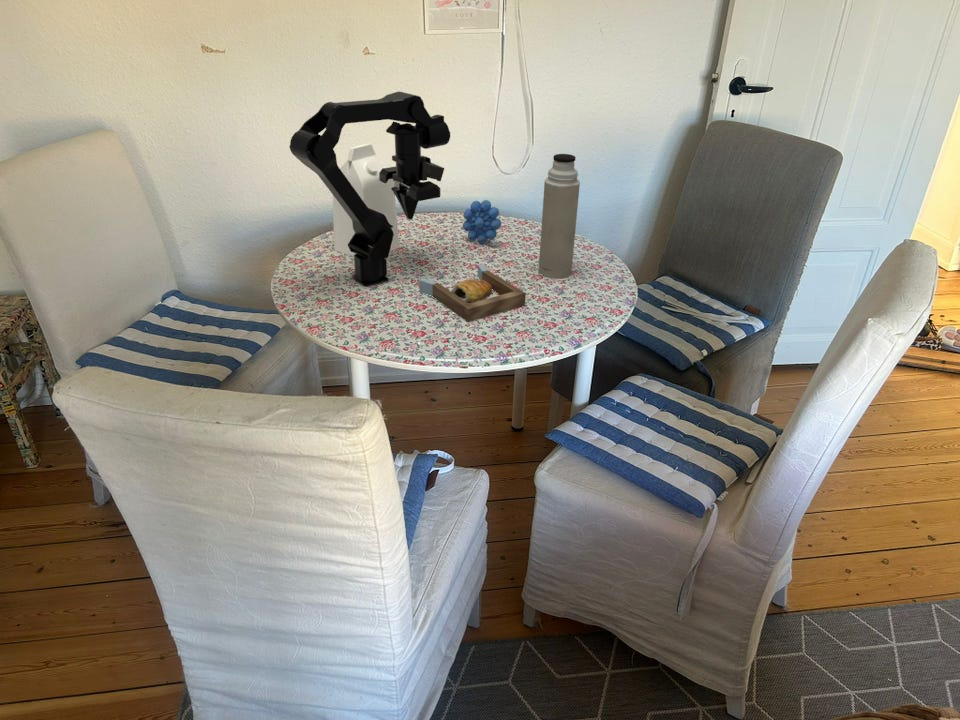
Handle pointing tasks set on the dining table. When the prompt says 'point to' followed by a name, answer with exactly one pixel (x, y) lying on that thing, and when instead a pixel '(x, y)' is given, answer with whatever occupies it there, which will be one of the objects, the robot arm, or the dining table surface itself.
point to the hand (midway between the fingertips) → (410, 218)
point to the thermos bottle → (559, 218)
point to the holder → (469, 312)
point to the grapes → (481, 221)
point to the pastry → (472, 290)
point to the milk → (364, 195)
